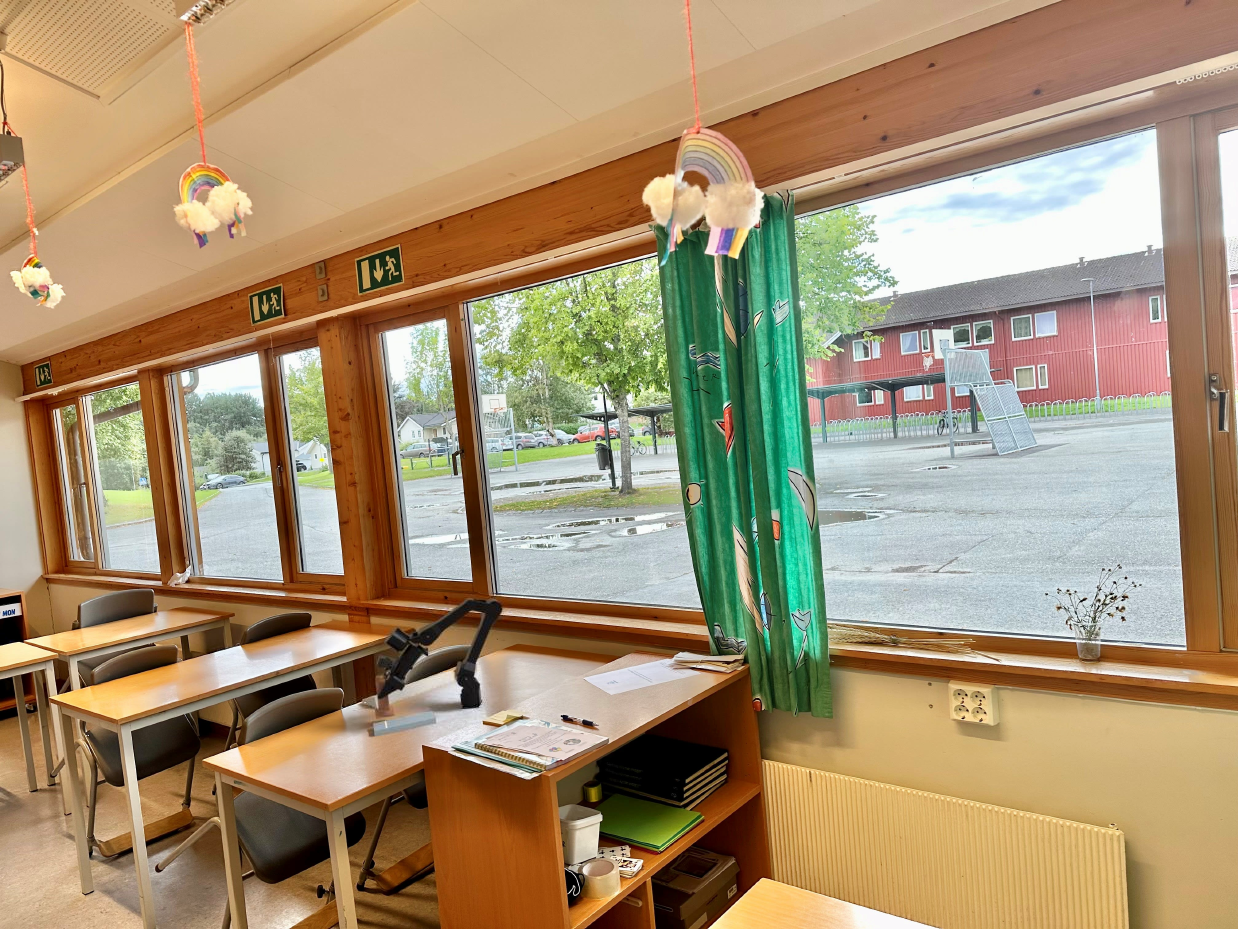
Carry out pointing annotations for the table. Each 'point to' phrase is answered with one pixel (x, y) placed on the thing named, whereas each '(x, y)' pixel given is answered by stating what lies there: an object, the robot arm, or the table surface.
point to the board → (404, 723)
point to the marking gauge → (382, 700)
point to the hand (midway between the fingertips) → (378, 697)
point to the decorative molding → (415, 688)
